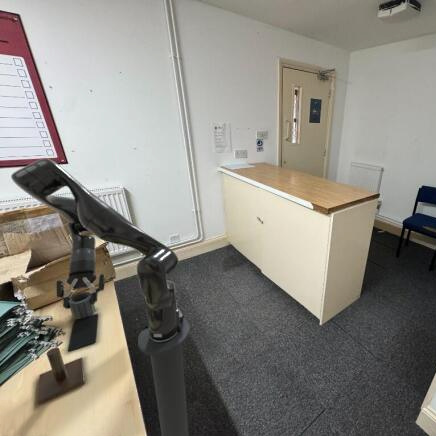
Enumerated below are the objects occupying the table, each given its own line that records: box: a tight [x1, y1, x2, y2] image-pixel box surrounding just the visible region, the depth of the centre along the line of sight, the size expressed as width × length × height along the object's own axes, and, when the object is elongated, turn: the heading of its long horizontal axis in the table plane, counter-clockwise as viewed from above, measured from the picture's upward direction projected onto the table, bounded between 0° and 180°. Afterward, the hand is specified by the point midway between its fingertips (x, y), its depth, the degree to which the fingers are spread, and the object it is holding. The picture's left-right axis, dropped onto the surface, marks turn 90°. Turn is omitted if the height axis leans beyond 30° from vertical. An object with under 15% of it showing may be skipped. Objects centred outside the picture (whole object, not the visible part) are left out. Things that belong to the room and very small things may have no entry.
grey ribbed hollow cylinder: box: [68, 291, 96, 320], centre depth 87 cm, size 6×6×7 cm
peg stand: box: [37, 347, 85, 405], centre depth 64 cm, size 9×9×11 cm
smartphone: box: [67, 313, 99, 353], centre depth 81 cm, size 7×1×15 cm
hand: (80, 306), depth 85 cm, fingers closed on grey ribbed hollow cylinder, 6 cm apart
